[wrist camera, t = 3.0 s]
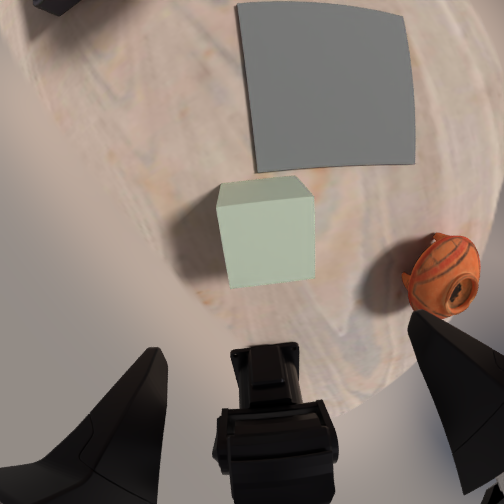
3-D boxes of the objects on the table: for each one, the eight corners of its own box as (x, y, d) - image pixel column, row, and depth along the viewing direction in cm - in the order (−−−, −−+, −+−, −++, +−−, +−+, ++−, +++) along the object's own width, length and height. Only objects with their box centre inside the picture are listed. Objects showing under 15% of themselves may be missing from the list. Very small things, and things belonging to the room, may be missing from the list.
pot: (402, 314, 25) (429, 352, 18) (381, 246, 23) (413, 272, 17) (462, 279, 23) (498, 307, 17) (448, 211, 21) (491, 226, 15)
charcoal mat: (413, 163, 18) (415, 164, 18) (257, 172, 18) (257, 172, 18) (401, 17, 12) (402, 16, 12) (237, 4, 12) (237, 3, 12)
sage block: (298, 241, 21) (314, 278, 16) (231, 249, 21) (230, 288, 16) (295, 175, 18) (314, 196, 14) (221, 183, 18) (215, 207, 14)
